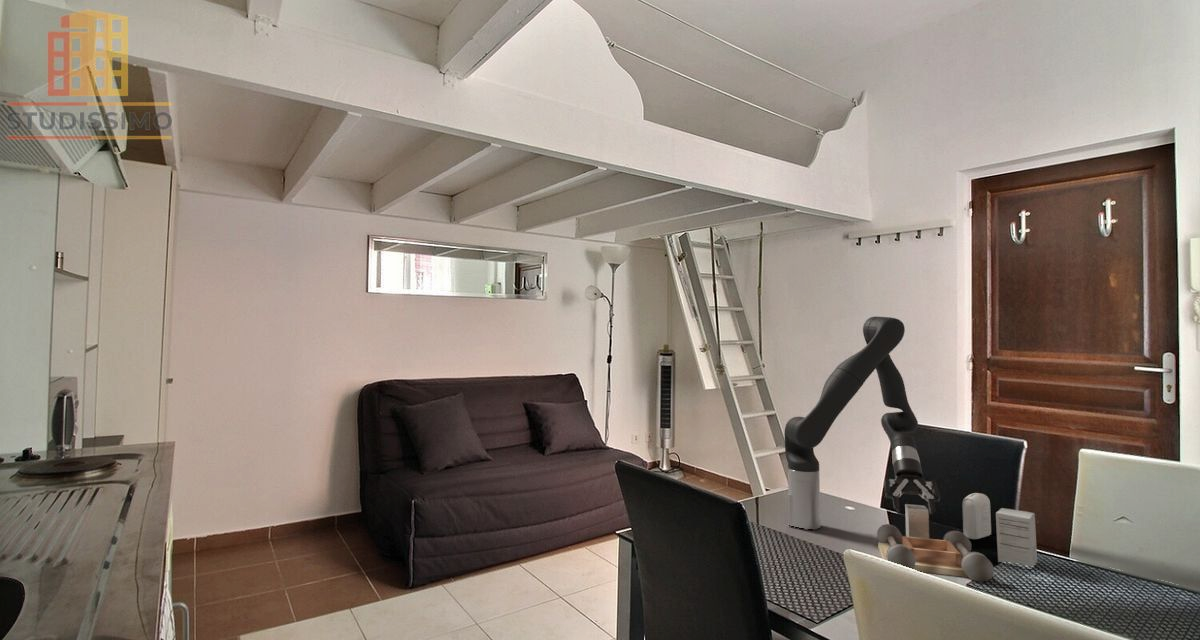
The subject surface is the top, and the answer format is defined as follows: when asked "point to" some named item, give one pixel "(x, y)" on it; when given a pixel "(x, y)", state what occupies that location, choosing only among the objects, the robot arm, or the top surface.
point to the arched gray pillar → (976, 516)
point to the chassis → (934, 554)
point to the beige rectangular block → (917, 521)
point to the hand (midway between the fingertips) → (915, 511)
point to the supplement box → (1016, 537)
